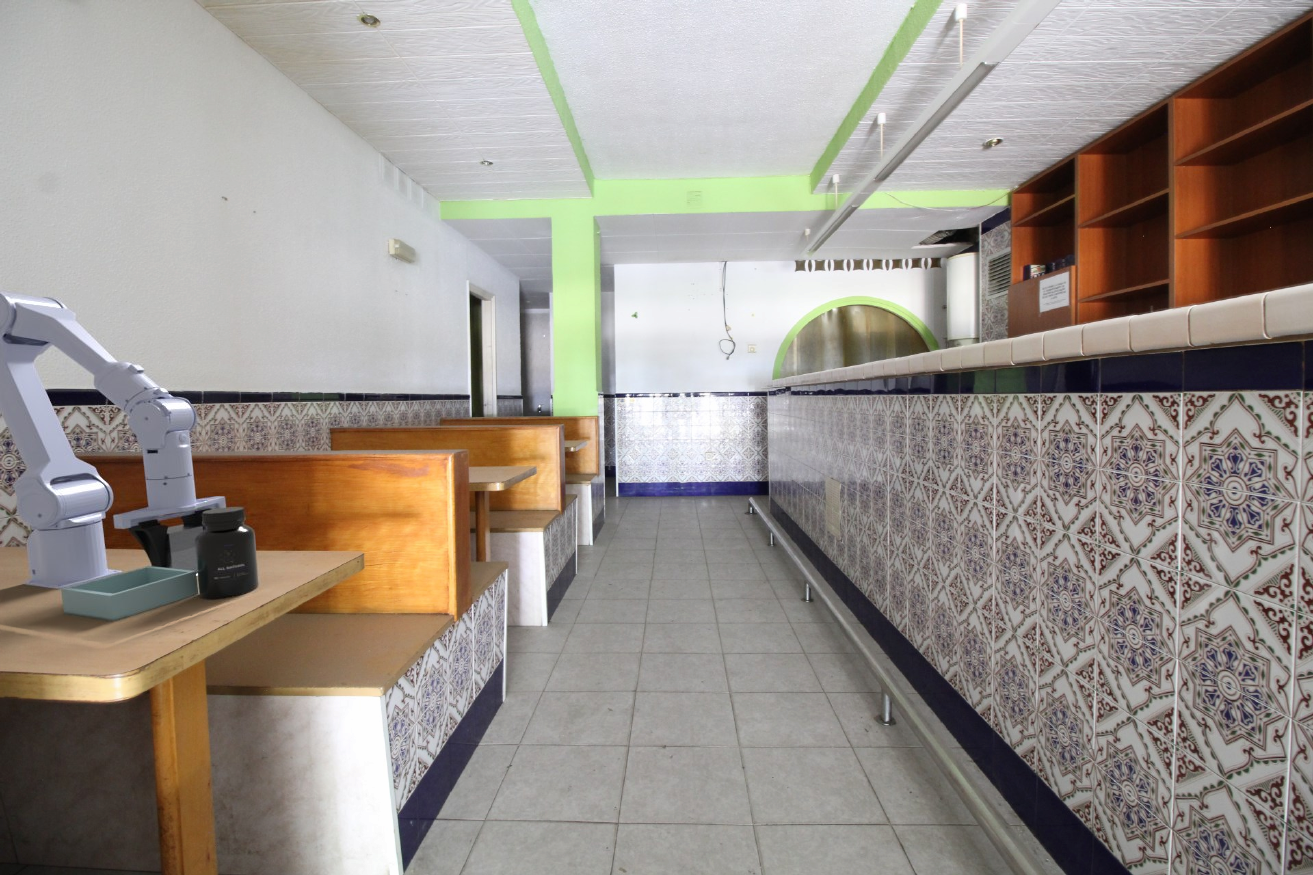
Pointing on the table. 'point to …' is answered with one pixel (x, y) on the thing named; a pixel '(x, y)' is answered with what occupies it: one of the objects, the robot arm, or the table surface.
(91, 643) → the table surface
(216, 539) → the supplement bottle
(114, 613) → the bin
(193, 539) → the block
